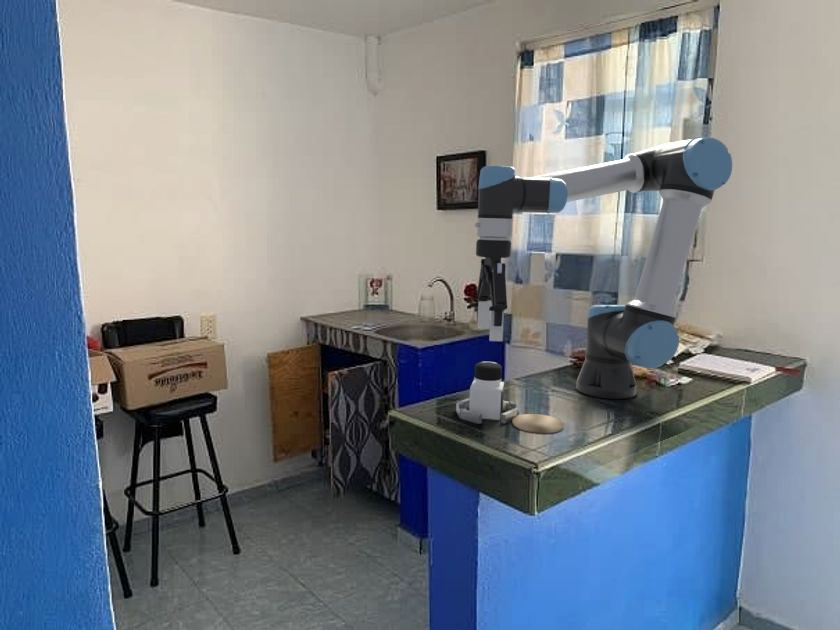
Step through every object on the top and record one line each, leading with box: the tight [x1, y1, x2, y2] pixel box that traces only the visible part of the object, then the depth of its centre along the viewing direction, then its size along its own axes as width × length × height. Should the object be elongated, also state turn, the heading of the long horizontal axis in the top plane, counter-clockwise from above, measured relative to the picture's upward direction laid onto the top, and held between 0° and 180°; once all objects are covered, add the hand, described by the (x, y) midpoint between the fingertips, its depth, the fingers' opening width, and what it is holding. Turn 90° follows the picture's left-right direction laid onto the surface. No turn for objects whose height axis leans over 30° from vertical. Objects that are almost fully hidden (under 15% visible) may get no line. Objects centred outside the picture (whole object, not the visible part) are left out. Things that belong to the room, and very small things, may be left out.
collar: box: [455, 397, 518, 425], centre depth 141 cm, size 13×13×3 cm
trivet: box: [511, 413, 565, 434], centre depth 136 cm, size 11×11×1 cm
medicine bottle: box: [468, 361, 505, 421], centre depth 141 cm, size 7×7×12 cm
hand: (489, 334), depth 139 cm, fingers open, 13 cm apart
